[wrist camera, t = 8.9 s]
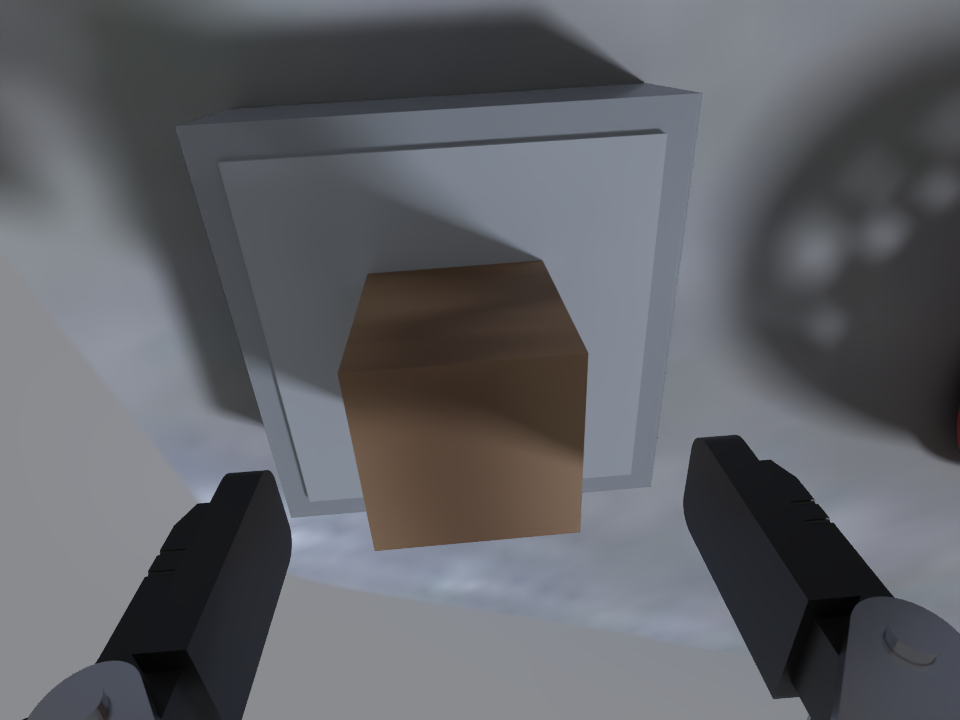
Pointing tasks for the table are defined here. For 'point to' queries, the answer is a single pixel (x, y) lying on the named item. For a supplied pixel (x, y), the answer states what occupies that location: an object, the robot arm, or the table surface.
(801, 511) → the robot arm
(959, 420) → the plant pot
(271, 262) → the pedestal
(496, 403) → the walnut cube
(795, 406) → the table surface
